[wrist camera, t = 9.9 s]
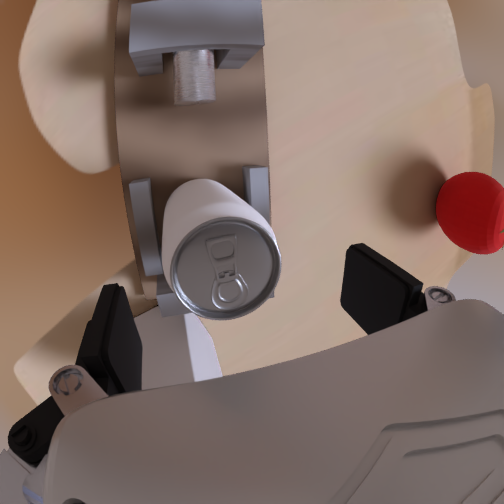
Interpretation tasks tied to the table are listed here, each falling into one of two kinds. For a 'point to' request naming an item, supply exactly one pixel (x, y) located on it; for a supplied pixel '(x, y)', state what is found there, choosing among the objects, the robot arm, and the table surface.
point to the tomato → (472, 212)
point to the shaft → (194, 77)
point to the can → (217, 251)
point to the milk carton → (175, 350)
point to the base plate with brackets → (187, 117)
